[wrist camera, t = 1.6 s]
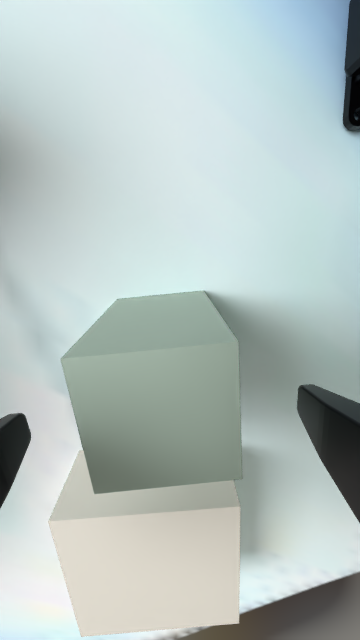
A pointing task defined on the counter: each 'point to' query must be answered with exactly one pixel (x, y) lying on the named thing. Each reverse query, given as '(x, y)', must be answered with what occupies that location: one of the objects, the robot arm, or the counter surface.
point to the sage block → (157, 394)
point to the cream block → (148, 554)
